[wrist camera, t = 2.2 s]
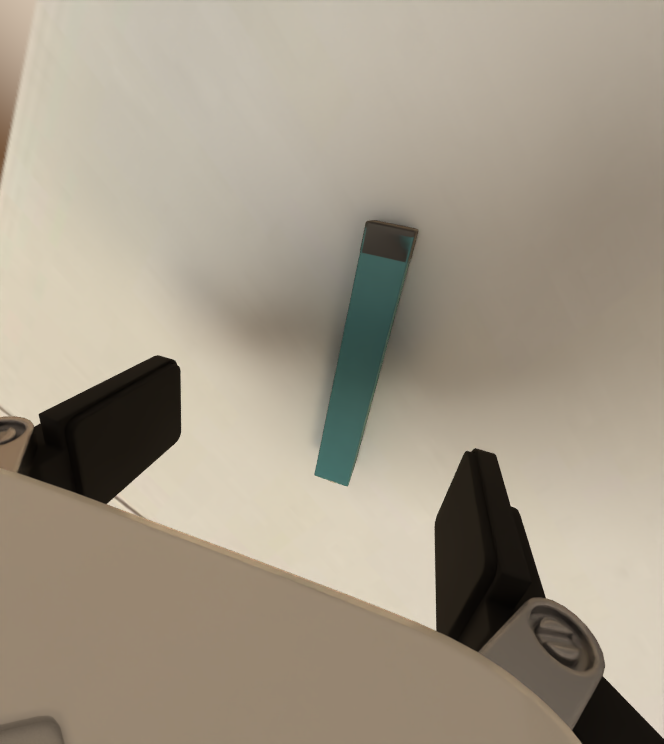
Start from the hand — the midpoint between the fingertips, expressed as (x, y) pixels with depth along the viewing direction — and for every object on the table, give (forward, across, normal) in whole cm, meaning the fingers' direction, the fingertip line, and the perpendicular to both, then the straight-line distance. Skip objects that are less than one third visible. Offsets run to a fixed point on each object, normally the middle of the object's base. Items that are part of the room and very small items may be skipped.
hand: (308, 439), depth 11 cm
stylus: (+7, -1, 0) cm, 7 cm away
